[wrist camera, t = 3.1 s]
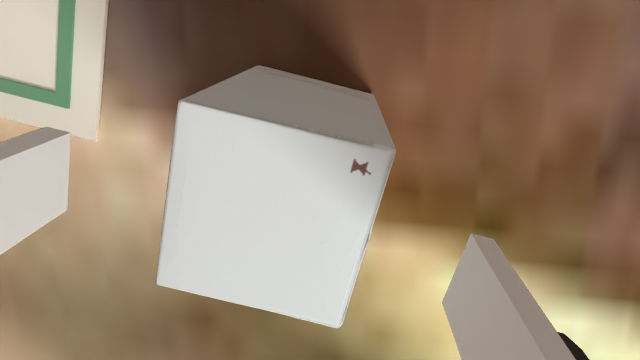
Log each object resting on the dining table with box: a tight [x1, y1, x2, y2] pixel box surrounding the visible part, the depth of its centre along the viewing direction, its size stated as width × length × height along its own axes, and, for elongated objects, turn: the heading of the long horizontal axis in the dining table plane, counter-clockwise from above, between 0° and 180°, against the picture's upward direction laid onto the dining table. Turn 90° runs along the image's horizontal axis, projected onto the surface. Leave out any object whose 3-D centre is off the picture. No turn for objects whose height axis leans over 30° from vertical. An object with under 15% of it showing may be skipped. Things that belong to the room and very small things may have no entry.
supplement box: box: [156, 65, 396, 328], centre depth 21 cm, size 7×7×13 cm
